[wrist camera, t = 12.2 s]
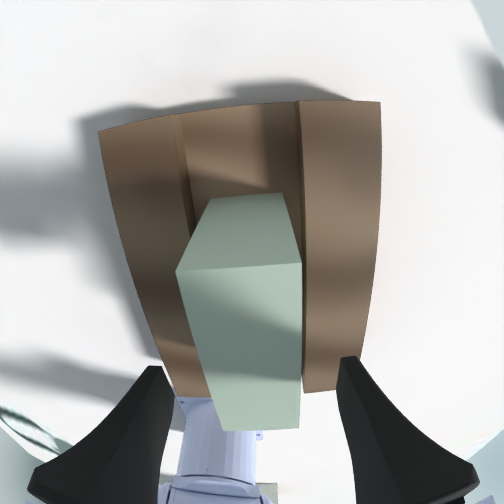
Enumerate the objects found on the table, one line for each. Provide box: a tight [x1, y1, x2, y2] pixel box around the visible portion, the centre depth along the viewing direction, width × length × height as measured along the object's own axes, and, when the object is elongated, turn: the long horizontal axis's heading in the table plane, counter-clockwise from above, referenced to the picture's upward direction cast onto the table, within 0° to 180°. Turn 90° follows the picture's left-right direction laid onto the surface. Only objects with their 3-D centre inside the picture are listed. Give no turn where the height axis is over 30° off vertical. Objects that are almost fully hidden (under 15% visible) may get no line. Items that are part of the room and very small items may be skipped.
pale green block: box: [175, 193, 302, 431], centre depth 15 cm, size 10×4×8 cm, turn 5°
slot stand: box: [98, 100, 382, 398], centre depth 19 cm, size 20×14×4 cm
